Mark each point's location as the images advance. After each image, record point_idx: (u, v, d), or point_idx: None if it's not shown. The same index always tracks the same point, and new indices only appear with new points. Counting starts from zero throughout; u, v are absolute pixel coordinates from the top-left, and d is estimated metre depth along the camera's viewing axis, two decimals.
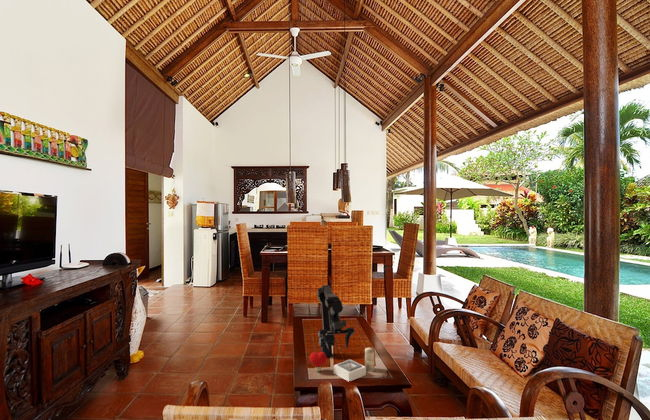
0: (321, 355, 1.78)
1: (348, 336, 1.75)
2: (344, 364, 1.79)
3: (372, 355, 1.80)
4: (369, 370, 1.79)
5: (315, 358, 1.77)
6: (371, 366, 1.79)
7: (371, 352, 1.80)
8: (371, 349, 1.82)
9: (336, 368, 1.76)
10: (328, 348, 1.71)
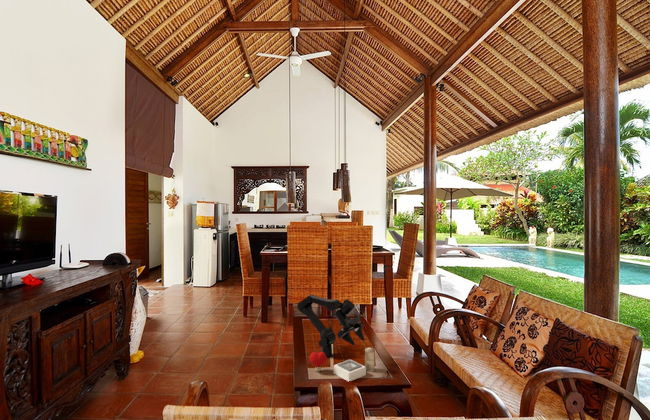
0: (321, 355, 1.78)
1: (361, 329, 1.93)
2: (344, 364, 1.79)
3: (372, 355, 1.80)
4: (369, 370, 1.79)
5: (315, 358, 1.77)
6: (371, 366, 1.79)
7: (371, 352, 1.80)
8: (371, 349, 1.82)
9: (336, 368, 1.76)
10: (353, 343, 1.83)
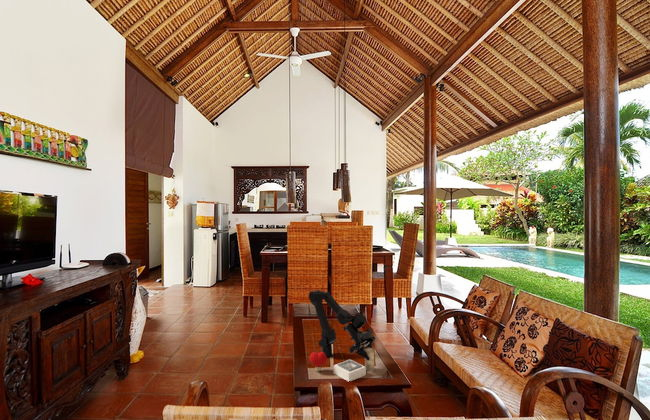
0: (321, 355, 1.78)
1: (371, 345, 1.86)
2: (344, 364, 1.79)
3: (372, 355, 1.80)
4: (369, 370, 1.79)
5: (315, 358, 1.77)
6: (371, 366, 1.79)
7: (371, 352, 1.80)
8: (371, 349, 1.82)
9: (336, 368, 1.76)
10: (367, 358, 1.79)
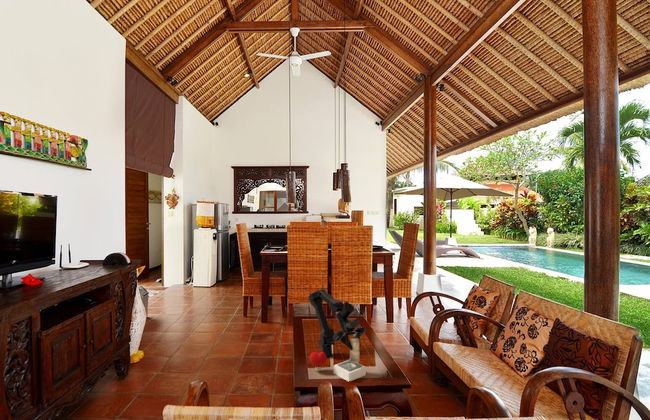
0: (321, 355, 1.78)
1: (358, 335, 1.81)
2: (344, 364, 1.79)
3: (356, 345, 1.76)
4: (352, 360, 1.76)
5: (315, 358, 1.77)
6: (354, 356, 1.75)
7: (355, 342, 1.76)
8: (356, 339, 1.78)
9: (336, 368, 1.76)
10: (350, 348, 1.76)
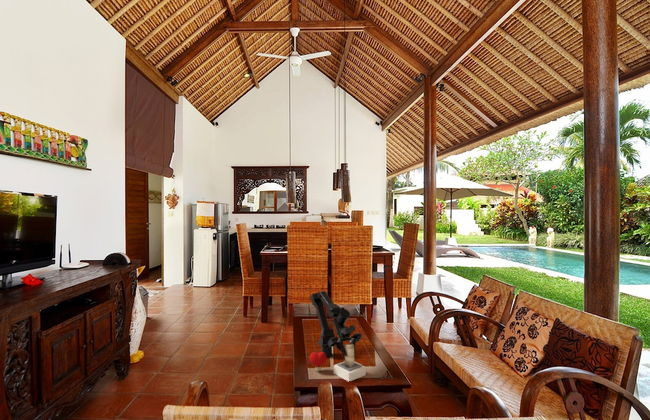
0: (321, 355, 1.78)
1: (354, 341, 1.80)
2: (344, 364, 1.79)
3: (350, 352, 1.75)
4: (347, 367, 1.75)
5: (315, 358, 1.77)
6: (348, 362, 1.75)
7: (349, 348, 1.75)
8: (351, 346, 1.77)
9: (336, 368, 1.76)
10: (345, 354, 1.75)
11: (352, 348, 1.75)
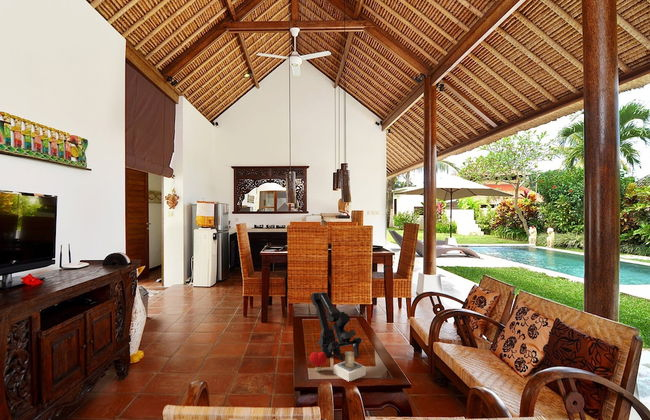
0: (321, 355, 1.78)
1: (357, 345, 1.81)
2: (344, 364, 1.79)
3: (350, 359, 1.75)
4: None
5: (315, 358, 1.77)
6: None
7: (349, 356, 1.75)
8: (351, 353, 1.77)
9: (336, 368, 1.76)
10: (341, 359, 1.74)
11: (352, 355, 1.75)
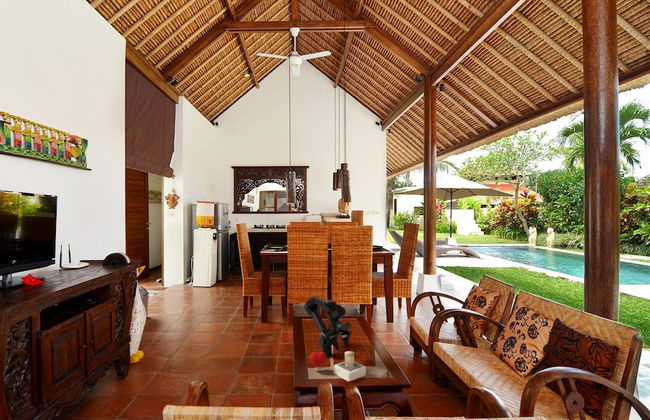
0: (321, 355, 1.78)
1: (348, 337, 1.93)
2: (344, 364, 1.79)
3: (350, 359, 1.75)
4: None
5: (315, 358, 1.77)
6: None
7: (349, 356, 1.75)
8: (351, 353, 1.77)
9: (336, 368, 1.76)
10: (337, 348, 1.83)
11: (352, 355, 1.75)
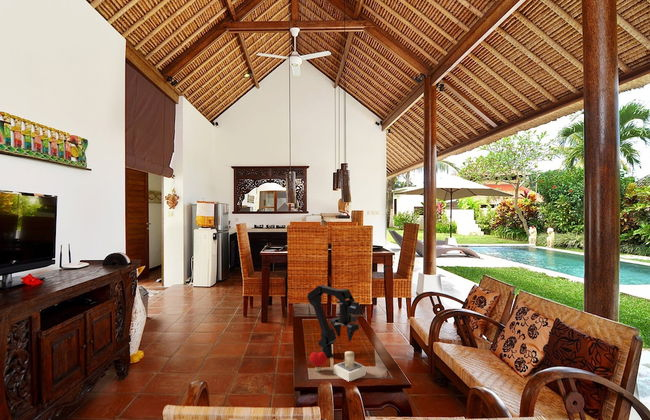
0: (321, 355, 1.78)
1: None
2: (344, 364, 1.79)
3: (350, 359, 1.75)
4: None
5: (315, 358, 1.77)
6: None
7: (349, 356, 1.75)
8: (351, 353, 1.77)
9: (336, 368, 1.76)
10: (350, 339, 1.88)
11: (352, 355, 1.75)
